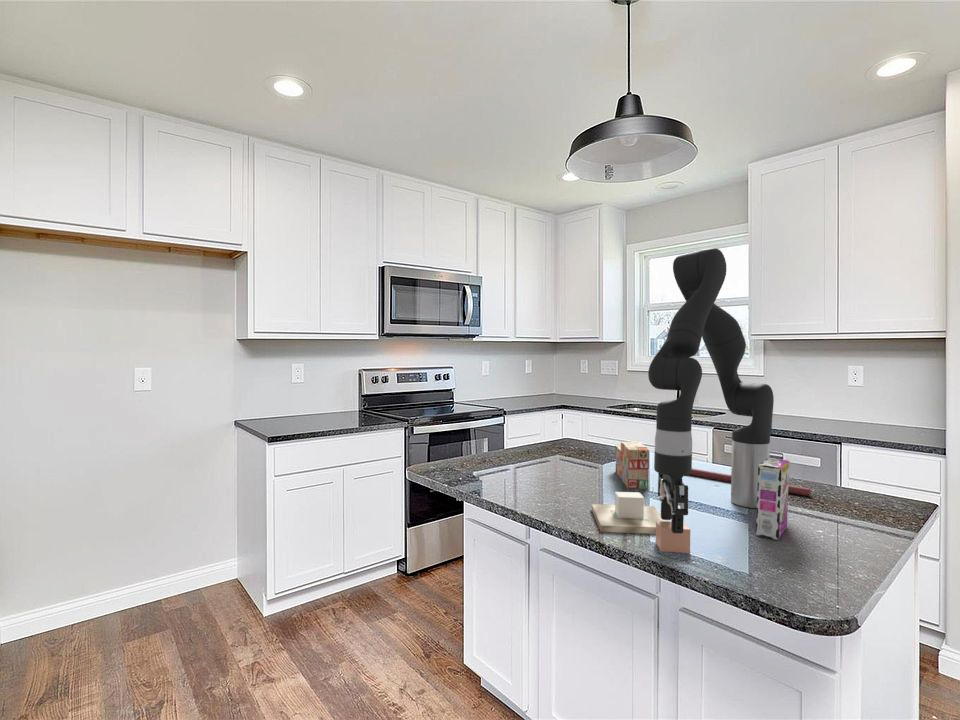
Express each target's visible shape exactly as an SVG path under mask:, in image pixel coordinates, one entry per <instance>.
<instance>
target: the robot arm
mask: <svg viewBox="0 0 960 720" xmlns="http://www.w3.org/2000/svg"><path fill="white" fill-rule="evenodd" d="M727 269H728V268H727V261H726V257H725V255H724V254H723V252H722V251H721V250H720V249H719V248H716V247H710V248H704V249H700V250H699V249H698V250H696V251H691V252H688V253H684V254H680V255H678V256H676V257H675V258H674V260H673V263H672V272H673V277H674V280H675V281H676V284H677V287H678V288H679V291H680V292H681V294H682V296H683V299H684V300H685V302H684V304H683V305H682V306H681V307H680V308H679V309H678V310H677V312H676V313H675V314H674V316H673V318H672V320H671V321H670V324H669V325H670V326H669V327H668V328H669V329H668V332H667V337H666V340H665V341H664V343H663V344H662V345H661V347H660V348H659V350H658V352H657V353H656V354H655V356H654V357H653V359H652V361H651V362H650V365H649V367H648V372H647V373H648V380H649V382H650V385H652V387H654V388H655V389H657V390H663V391H664V390H665V391H666V390H667V391H680V394H679V396H678V397H677V399H674V400H673V399H671V400H665V401H660V402H659V403H658V404H657V406H656V422H655V423H656V427H655V430H656V431H655V436H654V455H653V456H654V460H653V461H654V462H653V465H654V466H653V469H654V471H655V472H656V473H657V474H658V476H657V479H658V480H657V482H658V483H657V497H659V502H660V514H661V518H662V519H663V520H666V521H670V522H671V531H672V532H673V533H679V534H681V533H683V522H684V517H685V516H688V515H689V487H688V485H687V484H686V485H685V484H684V483H683V477H685V476H691V475H690V474H691V472H692V467H693V466H692V465H693V437H692V436H693V434H692V419H693V418H692V415H693V407H694V402H695V398H696V396H697V392H698V389H699V388H700V387H699V386H700V384H701V380H702V376H703V369H702V366H701V364H700V362H699V361H698V360H697V359H696V358H694V357H695V356H696V355H697V354H698V352H699V350H700V347H701V346H700V345H701V343H702V342H701V341H703V343H704V345H705V348H706V350H707V352H708V354H709V356H710V359H711V362H712V363H713V366H714V368H715V371H716V374H717V377H718V380H719V383H720V387H721V391H722V394H723V398H724V402H725V404H726V407H727V409H728V411H730V413H732V414H733V415H737V416H742V417H752V418H751V419H752V420H751V423H750V424H748V425H746V426H743V427H737V428H735V429H733V430H732V432H731V470H730V471H731V472H730V473H731V474H730V475H731V482H730V502H731V503H733V504H735V505H736V506H739V507H744V508H751V509H757V487H758V465H759V464H761V463H762V462H763V461H765V460H766V459H767V458H770V452H771V451H770V450H771V449H770V446H771V444H770V443H771V435H772V434H771V433H772V429H773V412H774V399H775V398H774V393H773V392H774V390H773V388H771V386H770V385H769V384H766V383H760V382H759V383H758V382H743V381H742V380H741V379H740V376H739V374H738V368H739V366H740V365H741V364H740V363H741V361H742V359H743V357H744V355H745V353H746V348H747V344H746V339H745V337H744V334H743V332H742V329H741V326H740V324H739V322H738V320H737V319H736V318H735V317H733V316H732V315H731V314H730V313H729V312H728V311H726V310H724V309H723V308H722V307H720V306H719V305H717V304H716V300H717V298H718V295H719V293H720V291H721V289H722V288H723V287H722V286H723V285H724V282H725V279H726V276H727ZM679 507H680V508H679Z"/></svg>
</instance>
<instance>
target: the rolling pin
mask: <svg viewBox="0 0 960 720" xmlns="http://www.w3.org/2000/svg"><path fill="white" fill-rule="evenodd" d="M689 476H694V477H700V478H704V479H705V478H706V479H710V480H711V479H712V480H716V481H721V482H727V483H731V474H727V473H723V472H722V473H721V472H714V471H709V470H703V469H698V468H692V472H691V474H690V475H689ZM788 494H795V495H801V496H805V497H810V496H811V495H812V489H811V488H809V487H803V486H797V485H791V484H789V486H788Z"/></svg>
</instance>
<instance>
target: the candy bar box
mask: <svg viewBox="0 0 960 720" xmlns="http://www.w3.org/2000/svg"><path fill="white" fill-rule="evenodd" d="M789 479H790V460H786V459H780V458H774V457H773V458H772V457H769V458H767V459H766V460H765V461H763V462H762V463H761V464H759V465H758V487H757V508H756V515H755V516H756V519H755V521H756V523H755V536H757V537H760V538H761V537H762V538H765V539H769V540H775V541H779V540H780V539H781V538H782V536H783V534H784V532H785V531H786V530H787V528H788V513H789V511H788V509H789V508H788V506H789V493H788V486H789V485H790V484H789V483H790V482H789V481H790V480H789Z"/></svg>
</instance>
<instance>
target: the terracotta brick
mask: <svg viewBox="0 0 960 720" xmlns="http://www.w3.org/2000/svg"><path fill="white" fill-rule="evenodd" d="M655 544H656V546H657V548H658V550H659V551H660V552H668V553H669V552H670V553H687V554H688V553H689V554H690V553H691V528H690V527H689V526H688V525H687V523H686V522H685V521H683V533H681V534H679V533H673V532H672V531H671V521H668V520H666V521H656V534H655Z"/></svg>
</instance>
